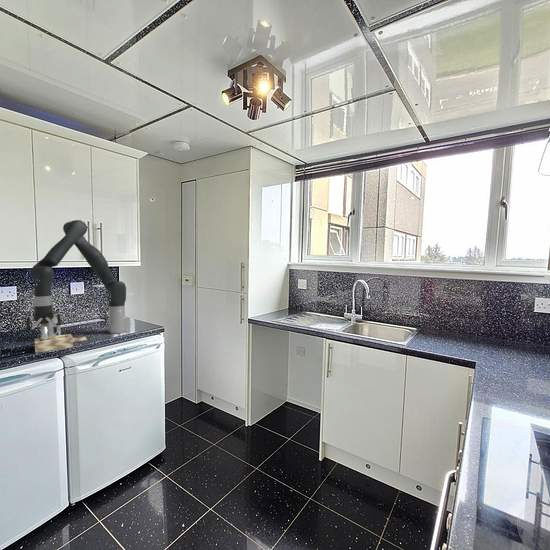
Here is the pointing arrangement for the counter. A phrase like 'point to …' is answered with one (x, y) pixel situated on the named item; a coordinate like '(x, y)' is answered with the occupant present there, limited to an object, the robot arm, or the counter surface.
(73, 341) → the mat
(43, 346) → the hole block
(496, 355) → the counter surface
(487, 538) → the counter surface
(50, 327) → the coffee box
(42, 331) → the peg
